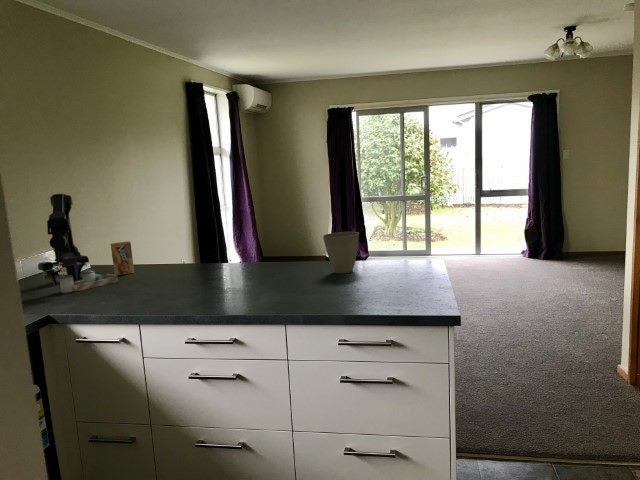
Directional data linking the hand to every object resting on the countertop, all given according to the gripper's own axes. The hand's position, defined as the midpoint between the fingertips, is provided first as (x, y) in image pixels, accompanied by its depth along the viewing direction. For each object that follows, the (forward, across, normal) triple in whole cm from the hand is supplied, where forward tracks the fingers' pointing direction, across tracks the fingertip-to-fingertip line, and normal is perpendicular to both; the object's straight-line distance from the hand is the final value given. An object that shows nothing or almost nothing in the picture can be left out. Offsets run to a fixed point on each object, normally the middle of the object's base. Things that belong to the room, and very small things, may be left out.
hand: (66, 282), depth 220 cm
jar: (+4, 0, 0) cm, 4 cm away
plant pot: (+4, +78, -87) cm, 117 cm away
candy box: (+4, +31, +11) cm, 33 cm away
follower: (+3, +13, 0) cm, 14 cm away
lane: (+4, +10, 0) cm, 11 cm away
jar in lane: (+4, +10, 0) cm, 10 cm away
